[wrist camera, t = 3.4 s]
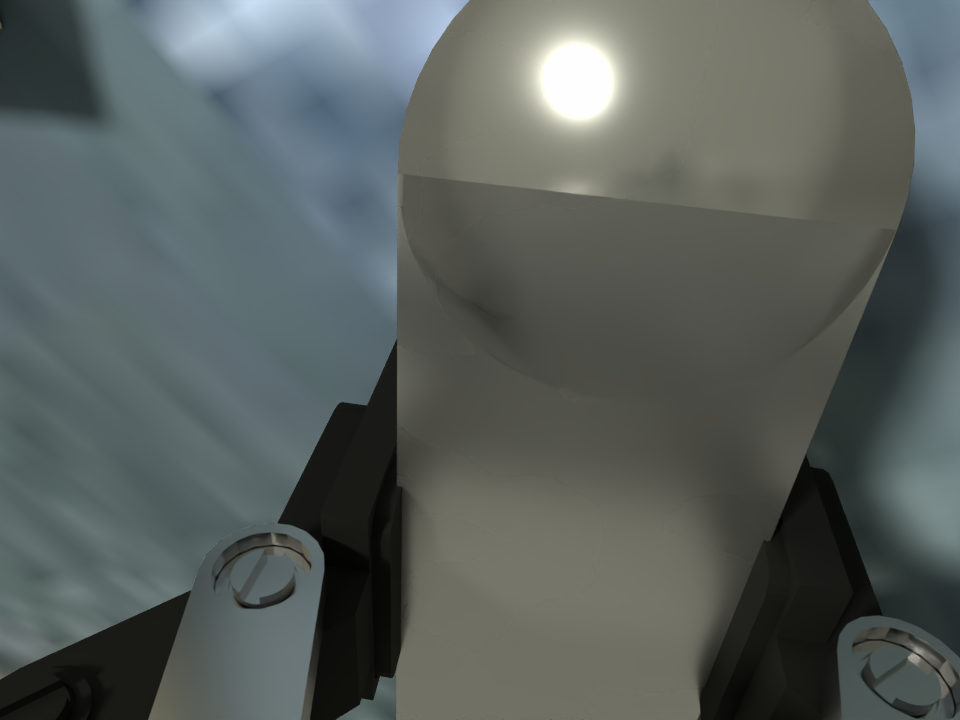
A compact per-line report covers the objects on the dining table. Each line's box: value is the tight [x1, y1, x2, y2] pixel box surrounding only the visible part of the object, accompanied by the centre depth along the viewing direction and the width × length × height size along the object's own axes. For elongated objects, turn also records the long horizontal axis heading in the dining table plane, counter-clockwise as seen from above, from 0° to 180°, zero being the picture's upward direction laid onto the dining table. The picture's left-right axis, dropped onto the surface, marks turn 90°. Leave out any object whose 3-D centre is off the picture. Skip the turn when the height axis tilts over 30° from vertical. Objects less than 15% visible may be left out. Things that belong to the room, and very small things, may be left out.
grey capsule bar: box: [396, 0, 915, 720], centre depth 10 cm, size 4×14×4 cm, turn 176°
